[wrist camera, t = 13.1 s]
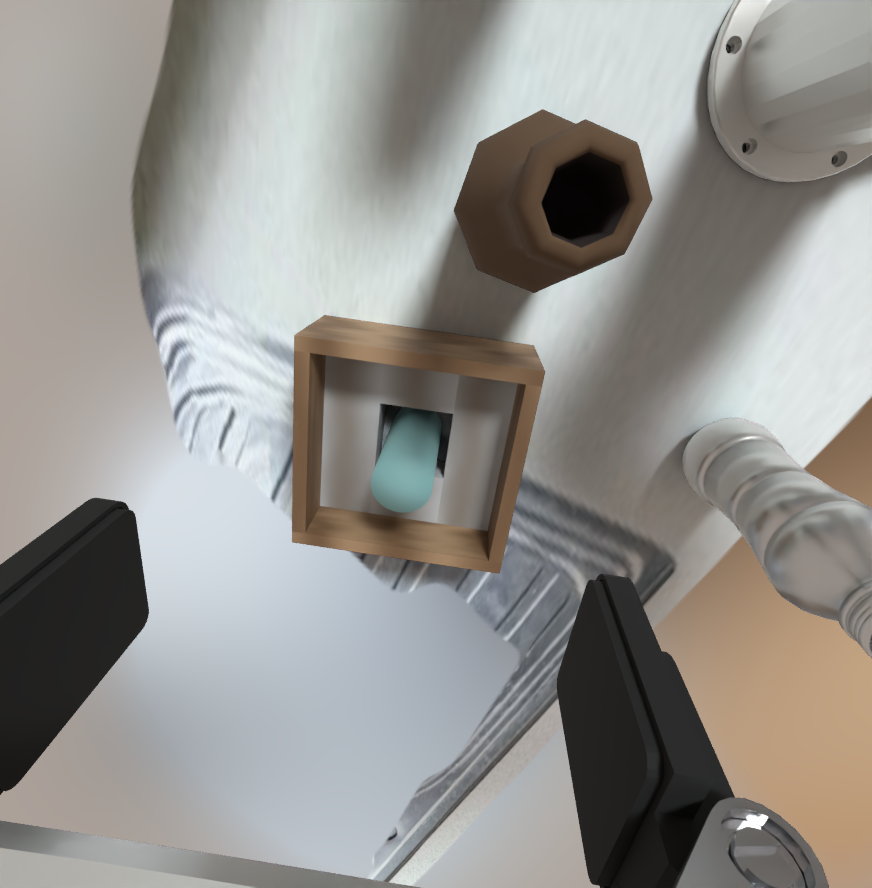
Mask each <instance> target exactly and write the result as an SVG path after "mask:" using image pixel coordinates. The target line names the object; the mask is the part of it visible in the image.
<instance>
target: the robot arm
mask: <svg viewBox="0 0 872 888" xmlns="http://www.w3.org/2000/svg"><path fill="white" fill-rule="evenodd" d="M726 45H730V47H731V51H730V53H727V51H726ZM708 107H709V113H710V118H711V123H712V126H713V128H714V131H715V133H716V136H717V138H718V141H719V142H720V144H721V145H722V147H723V148H724V150H725V151H726V153H727V154H728V155H729V157H730V158H731V159H733V160H734V161H735V162H736V163H737V164H738V165H739V166H740V167H741V168H743V169H744V170H746V171H748V172H750V173H752V174H754V175H756V176H758V177H760V178H764V179H768V180H772V181H776V182H801V181H811V180H816V179H820V178H824V177H828V176H832V175H835V174H837V173H839V172H842V171H844V170H846V169H848V168H850V167H853V166H855V165H857V164H858V163H860V162H861V161H863V160H864V159H866V158H867V157H869V156H871V155H872V0H735V1H734V3H733V4H732V6H731V8H730V10H729V12H728V14H727V16H726V18H725V20H724V22H723V24H722V26H721V28H720V31H719V34H718V37H717V40H716V43H715V46H714V49H713V52H712V56H711V61H710V67H709V73H708ZM743 144H746V146H747V147H746V150H745V152H744V153H743V151H742V145H743ZM832 157H833V158H834V161H833V163H831V161H832ZM148 614H149V609H148V601H147V594H146V587H145V580H144V573H143V566H142V559H141V552H140V545H139V538H138V532H137V524H136V517H135V514H134V512H133V511H131V510H129V508H128V506H127V505H126V503H124V502H121V501H114V500H107V499H100V498H92V499H90V500H88V501H86V502H85V503H84V504H83V505H81V506H80V507H78V508H77V509H76V510H74V511H73V512H71V513H70V514H69V515H67V516H66V517H65V518H63V519H62V520H61V521H59V522H58V523H56V524H55V525H54V526H52V527H51V528H50V529H48V530H47V531H46V532H44V533H43V534H41V535H40V536H39V537H37V538H36V539H35V540H33V541H32V542H31V543H29V544H28V545H27V546H25V547H24V548H22V550H20V551H18V552H17V553H16V554H15V555H13V556H12V557H10V558H9V559H7V560H6V561H5V562H4V563H2V564H1V565H0V795H1V793H2V792H3V791H7V790H10V789H12V788H13V787H14V786H16V784H17V783H18V782H19V781H20V780H21V779H22V778H23V777H24V775H25V774H26V773H27V772H28V770H29V769H30V768H31V767H32V765H33V764H34V763H35V762H36V760H37V759H38V758H39V757H40V756H41V754H42V753H43V752H44V751H45V749H46V748H47V747H48V746H49V744H50V743H51V742H52V741H53V739H54V738H55V737H56V736H57V734H58V733H59V732H60V731H61V730H62V728H63V727H64V726H65V725H66V723H67V722H68V721H69V720H70V718H71V717H72V716H73V715H74V713H75V712H76V711H77V709H78V708H79V707H80V706H81V705H82V703H83V702H84V701H85V700H86V698H87V697H88V696H89V695H90V694H91V692H92V691H93V690H94V689H95V687H96V686H97V685H98V684H99V682H100V681H101V680H102V679H103V677H104V676H105V675H106V674H107V672H108V671H109V670H110V669H111V667H112V666H113V665H114V664H115V662H116V661H117V660H118V659H119V658H120V656H121V655H122V654H123V653H124V651H125V650H126V649H127V647H128V646H129V645H130V644H131V643H132V641H133V640H134V639H135V638H136V636H137V635H138V634H139V633H140V632H141V630H142V629H143V627H144V626H145V623H146V622H147V618H148ZM557 693H558V699H559V705H560V711H561V717H562V723H563V729H564V734H565V741H566V746H567V753H568V759H569V764H570V770H571V777H572V782H573V788H574V794H575V800H576V806H577V812H578V818H579V824H580V830H581V836H582V842H583V848H584V854H585V860H586V866H587V871H588V876H589V879H590V881H591V883H592V884H594V885H599V886H600V888H829V885H828V882H827V879H826V876H825V873H824V870H823V867H822V865H821V863H820V862H819V860H818V858H817V857H816V855H815V853H814V852H813V850H812V848H811V847H810V846H809V845H808V843H807V842H806V841H805V840H804V839H803V837H802V836H801V835H800V834H799V833H798V832H797V830H796V829H795V828H793V827H792V826H791V825H790V824H789V823H788V822H787V821H785V820H784V819H783V818H782V817H781V816H780V815H778V814H776V813H775V812H773V811H772V810H770V809H768V808H766V807H765V806H763V805H762V804H759V803H756V802H753V801H751V800H748V799H745V798H735V797H734V794H733V792H732V790H731V787H730V785H729V783H728V781H727V778H726V776H725V774H724V772H723V769H722V767H721V765H720V763H719V760H718V758H717V756H716V754H715V751H714V749H713V747H712V745H711V742H710V740H709V738H708V735H707V733H706V731H705V729H704V726H703V724H702V722H701V720H700V718H699V715H698V713H697V711H696V708H695V706H694V704H693V702H692V699H691V697H690V695H689V693H688V690H687V688H686V686H685V684H684V681H683V679H682V677H681V674H680V672H679V670H678V668H677V665H676V663H675V661H674V660H673V658H672V656H671V655H669V654H668V653H667V652H662V651H661V649H660V646H659V644H658V642H657V639H656V637H655V635H654V632H653V630H652V627H651V625H650V623H649V620H648V618H647V616H646V613H645V611H644V609H643V606H642V604H641V601H640V599H639V597H638V594H637V592H636V590H635V587H634V585H633V583H632V581H631V579H629V578H625V577H619V576H612V575H605V574H600V575H599V576H598V577H597V580H589V581H588V583H587V585H586V588H585V591H584V595H583V598H582V601H581V604H580V607H579V610H578V613H577V616H576V620H575V623H574V626H573V629H572V632H571V635H570V638H569V641H568V645H567V648H566V651H565V654H564V657H563V660H562V663H561V667H560V670H559V673H558V678H557ZM0 888H419V887H413V886H407V885H401V884H395V883H389V882H383V881H377V880H371V879H365V878H358V877H353V876H347V875H341V874H335V873H329V872H322V871H316V870H310V869H304V868H298V867H291V866H285V865H279V864H273V863H267V862H260V861H254V860H247V859H242V858H236V857H229V856H223V855H217V854H210V853H204V852H198V851H192V850H185V849H179V848H173V847H166V846H160V845H153V844H148V843H141V842H135V841H129V840H122V839H115V838H109V837H103V836H96V835H90V834H83V833H77V832H70V831H64V830H57V829H51V828H44V827H38V826H31V825H25V824H18V823H11V822H5V821H0Z"/></svg>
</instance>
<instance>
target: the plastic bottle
mask: <svg viewBox="0 0 872 888" xmlns="http://www.w3.org/2000/svg"><path fill="white" fill-rule="evenodd" d="M682 466H683V471H684V474H685V476H686V478H687V481H688V483H689V485H690V487H691V488H692V489H693V490H694V491H695V492H696V493H697V494H698V495H700V496H701V497H702V498H703V499H705V500H706V501H707V502H709V503H710V504H712V505H714V506H715V507H717V508H718V509H719V510H720V511H721V512H722V513H723V514H724V515H725V516H726V517H727V518H728V519H730V520H731V521H732V522H733V523H734V524H735V526H736V527H737V529H738V530H739V531H740V533H741V534H742V535H743V537H744V538H745V539H746V541H747V542H748V543H749V545H750V546H751V548H752V550H753V551H754V553H755V555H756V557H757V559H758V561H759V562H760V564H761V566H762V568H763V570H764V571H765V573H766V575H767V577H768V579H769V580H770V582H771V583H772V584H773V586H774V587H775V589H776V591H777V592H778V593H779V594H780V595H781V596H782V597H783V598H784V599H786V600H787V601H789V602H791V603H792V604H794V605H795V606H797V607H798V608H800V609H801V610H803V611H806V612H809V613H811V614H814V615H817V616H820V617H823V618H827V619H831V620H836V621H839V624H840V625H841V627H842V628H843V630H844V631H845V632H846V633H847V634H848V636H849V637H850V638H852V639H853V640H855V641H857V643H858V644H859V645H860V646H861V647H862V648H863V650H864V651H865V652H866V653H867V654H868V655H869V656H870V657H871V658H872V508H871V507H869V506H867V505H865V504H863V503H861V502H859V501H857V500H855V499H853V498H851V497H849V496H847V495H845V494H843V493H841V492H839V491H837V490H835V489H833V488H831V487H830V486H828V485H827V484H825V483H824V482H822V481H821V480H819V479H818V478H816V477H814V476H813V475H811V474H810V473H808V472H807V471H805V470H804V469H803V468H802V467H801V466H800V465H799V464H798V463H797V462H796V461H795V460H794V459H793V458H792V457H791V456H790V455H789V454H788V453H787V452H786V451H785V450H784V448H783V447H782V445H781V444H780V443H779V441H778V440H777V439H776V438H775V437H774V436H773V434H772V433H771V432H770V431H768V430H767V429H766V428H765V427H763V426H761V425H758V424H756V423H753V422H751V421H748V420H745V419H740V418H726V419H721V420H718V421H715V422H712V423H710V424H708V425H706V426H705V427H703V428H702V429H700V430H699V431H698V432H697V433H696V434H695V435H694V436H693V437H692V438H691V439H690V441H689V442H688V444H687V446H686V448H685V450H684V453H683V457H682Z"/></svg>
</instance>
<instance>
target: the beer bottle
mask: <svg viewBox="0 0 872 888" xmlns="http://www.w3.org/2000/svg"><path fill="white" fill-rule="evenodd" d="M651 201H652V195H651V192H650V188H649V184H648V180H647V176H646V172H645V168H644V164H643V161H642V157H641V153H640V149H639V146H638V144H637V142H635V141H633V140H631V139H628V138H626V137H624V136H622V135H619V134H617V133H615V132H613V131H610V130H608V129H606V128H604V127H601V126H599V125H597V124H595V123H592V122H590V121H588V120H586V119H585V120H583V121H581V122H579V123H577V124H575V123H572V122H570V121H568V120H566V119H563V118H561V117H559V116H557V115H554V114H552V113H550V112H548V111H545V110H543V109H542V110H540V111H538V112H537V113H535V114H533V115H531V116H529V117H527V118H525V119H523V120H521V121H519V122H517V123H515V124H513V125H512V126H510V127H508V128H506V129H504V130H502V131H500V132H498V133H496V134H494V135H492V136H490V137H488V138H487V139H485V140H483V141H481V142H479V143H478V145H477V147H476V150H475V152H474V155H473V158H472V161H471V164H470V166H469V169H468V172H467V175H466V178H465V180H464V183H463V186H462V189H461V192H460V194H459V197H458V200H457V203H456V206H455V208H454V212H455V215H456V217H457V220H458V222H459V225H460V227H461V230H462V232H463V235H464V237H465V240H466V243H467V245H468V248H469V250H470V253H471V255H472V258H473V260H474V263H475V265H476V268H477V269H478V270H480V271H482V272H484V273H487V274H489V275H492V276H494V277H497V278H499V279H501V280H504V281H506V282H509V283H511V284H514V285H516V286H519V287H521V288H523V289H526V290H528V291H531V292H533V293H535V292H537V291H539V290H542V289H544V288H546V287H549V286H551V285H553V284H556V283H558V282H560V281H562V280H565V279H567V278H569V277H572V276H575V275H577V274H580V273H582V272H584V271H586V270H589V269H591V268H593V267H596V266H598V265H600V264H603V263H605V262H607V261H609V260H612V259H614V258H616V257H619V256H621V255H623V254H625V252H626V250H627V248H628V246H629V244H630V242H631V240H632V239H633V237H634V235H635V233H636V231H637V229H638V227H639V225H640V223H641V221H642V219H643V217H644V215H645V213H646V211H647V209H648V207H649V205H650V203H651Z"/></svg>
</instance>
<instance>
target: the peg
mask: <svg viewBox="0 0 872 888" xmlns="http://www.w3.org/2000/svg"><path fill="white" fill-rule="evenodd" d="M441 432H442V423H441V420H440V417H439V416H438V414H437V413H436V412H435V411H430V410H423V409H416V408H409V407H404V408H402V409H401V410H400V411H399V412H398V413H397V415H396V417H395V419H394V421H393V424H392V426H391V429H390V431H389V434H388V436H387V439H386V441H385V444H384V446H383V449H382V451H381V454H380V456H379V459H378V461H377V464H376V466H375V469H374V471H373V474H372V477H371V490H372V493H373V495H374V497H375V499H376V500H377V501H378V502H379V503H380V504H381V505H382V506H384V507H385V508H387V509H389V510H392V511H395V512H412V511H415V510H417V509H419V508H421V507H422V506H424V505H425V504H426V503H427V501H428V500H429V498H430V496H431V493H432V488H433V481H434V475H435V469H436V463H437V457H438V450H439V444H440V438H441Z"/></svg>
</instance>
